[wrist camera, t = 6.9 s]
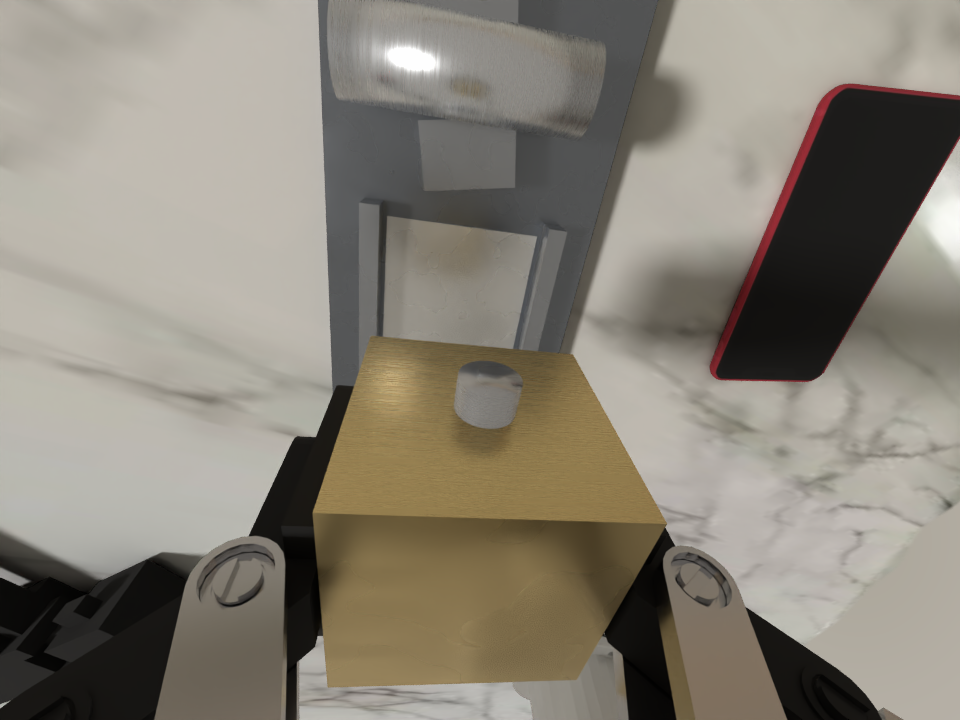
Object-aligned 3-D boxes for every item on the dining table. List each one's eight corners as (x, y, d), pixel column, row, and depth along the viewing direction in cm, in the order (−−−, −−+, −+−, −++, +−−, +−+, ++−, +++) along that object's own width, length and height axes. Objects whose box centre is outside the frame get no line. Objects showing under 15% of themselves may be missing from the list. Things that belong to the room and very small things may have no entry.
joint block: (580, 329, 10) (686, 491, 6) (526, 506, 13) (567, 694, 9) (371, 308, 9) (308, 474, 5) (368, 500, 12) (329, 703, 8)
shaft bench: (653, -19, 15) (745, -81, 11) (518, 476, 28) (533, 546, 23) (321, -98, 14) (258, -213, 9) (339, 467, 26) (317, 541, 22)
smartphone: (985, 97, 18) (819, 383, 25) (962, 99, 19) (807, 375, 26) (835, 81, 17) (709, 381, 24) (817, 83, 18) (700, 373, 25)
